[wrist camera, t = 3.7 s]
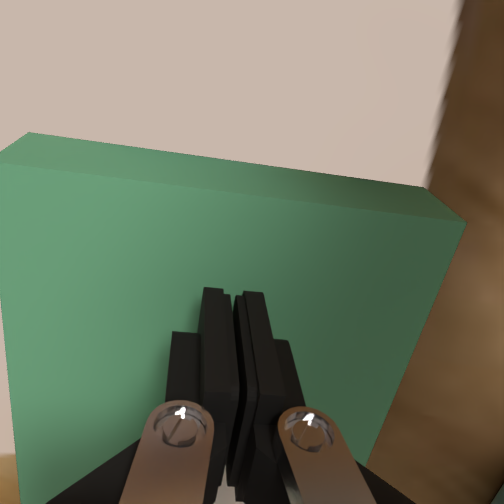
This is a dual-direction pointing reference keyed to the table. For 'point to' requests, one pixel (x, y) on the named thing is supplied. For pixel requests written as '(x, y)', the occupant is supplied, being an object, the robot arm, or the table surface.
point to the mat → (197, 287)
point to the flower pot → (499, 497)
